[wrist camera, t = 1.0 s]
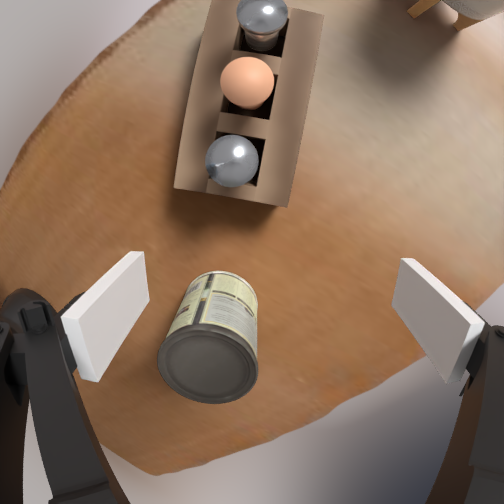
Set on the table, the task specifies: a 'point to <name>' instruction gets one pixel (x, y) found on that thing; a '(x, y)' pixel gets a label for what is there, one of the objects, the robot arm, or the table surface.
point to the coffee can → (212, 340)
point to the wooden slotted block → (271, 131)
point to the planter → (463, 10)
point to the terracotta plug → (247, 82)
